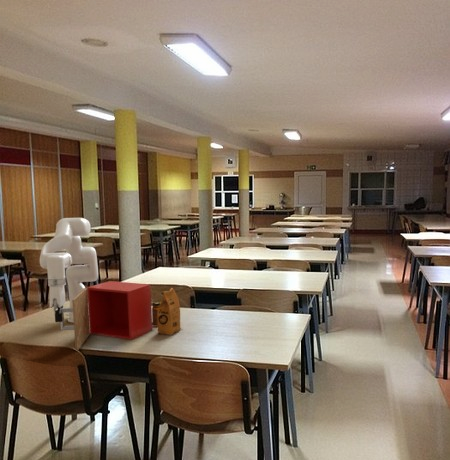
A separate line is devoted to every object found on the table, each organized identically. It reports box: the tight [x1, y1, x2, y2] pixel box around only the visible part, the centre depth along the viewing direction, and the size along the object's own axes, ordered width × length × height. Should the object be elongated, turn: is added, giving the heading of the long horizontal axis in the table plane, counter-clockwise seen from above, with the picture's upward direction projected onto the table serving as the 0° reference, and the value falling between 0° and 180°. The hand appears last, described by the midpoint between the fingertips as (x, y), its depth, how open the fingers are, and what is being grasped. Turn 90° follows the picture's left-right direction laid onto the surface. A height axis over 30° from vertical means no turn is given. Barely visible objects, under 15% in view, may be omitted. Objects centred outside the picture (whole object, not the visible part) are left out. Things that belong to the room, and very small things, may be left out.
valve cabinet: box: [86, 280, 153, 341], centre depth 252 cm, size 18×26×24 cm
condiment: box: [151, 301, 162, 328], centre depth 266 cm, size 7×8×12 cm
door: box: [59, 287, 91, 351], centre depth 236 cm, size 8×26×24 cm, turn 3°
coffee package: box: [157, 287, 182, 336], centre depth 251 cm, size 10×12×22 cm
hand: (59, 320), depth 225 cm, fingers closed on door
